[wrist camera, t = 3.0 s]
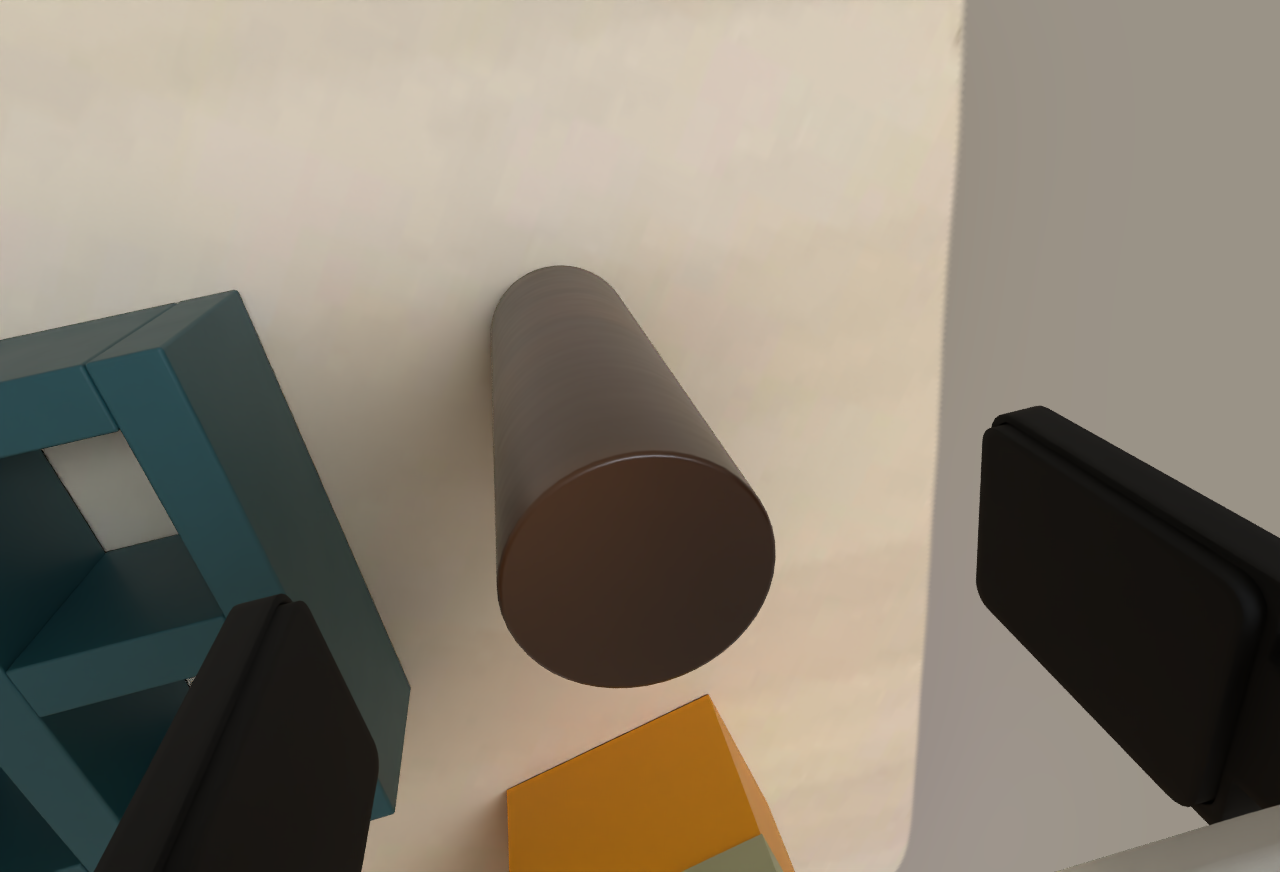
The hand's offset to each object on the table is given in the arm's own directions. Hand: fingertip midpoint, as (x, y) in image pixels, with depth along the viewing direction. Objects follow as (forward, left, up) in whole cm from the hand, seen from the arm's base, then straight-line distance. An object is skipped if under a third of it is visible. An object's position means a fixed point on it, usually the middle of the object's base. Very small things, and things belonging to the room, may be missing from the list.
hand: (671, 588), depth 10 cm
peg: (0, 0, -12) cm, 12 cm away
